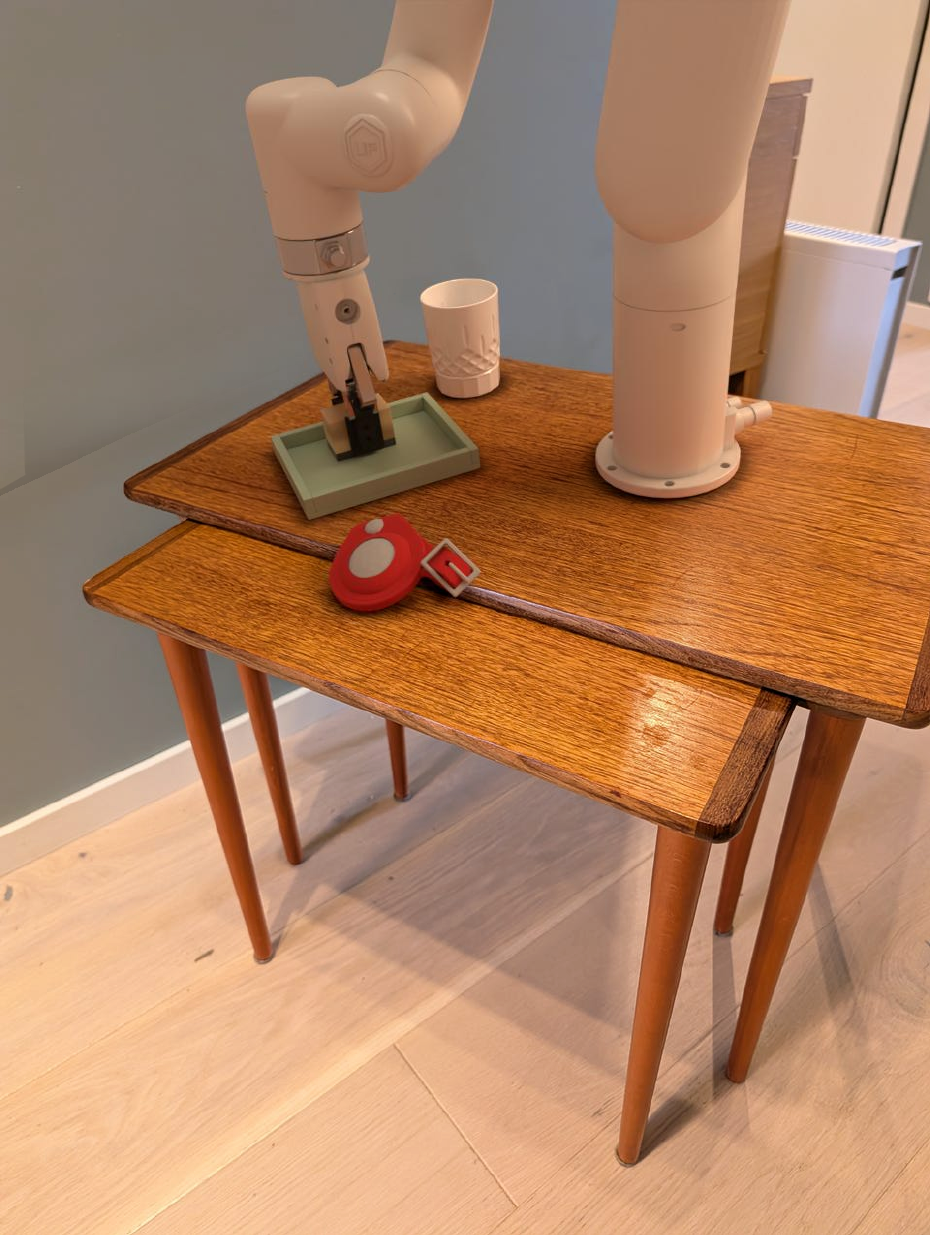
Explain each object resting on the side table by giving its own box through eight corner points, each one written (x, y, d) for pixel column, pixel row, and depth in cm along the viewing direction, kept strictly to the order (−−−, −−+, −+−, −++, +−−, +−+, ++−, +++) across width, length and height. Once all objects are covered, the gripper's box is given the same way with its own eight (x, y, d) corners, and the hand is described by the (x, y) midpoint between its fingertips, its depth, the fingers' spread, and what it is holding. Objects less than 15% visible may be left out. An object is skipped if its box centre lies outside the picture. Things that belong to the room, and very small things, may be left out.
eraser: (385, 429, 90) (378, 392, 87) (396, 444, 87) (390, 407, 84) (327, 446, 88) (319, 409, 86) (337, 462, 86) (329, 424, 83)
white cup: (480, 406, 92) (470, 311, 86) (418, 394, 96) (404, 302, 90) (518, 374, 97) (512, 282, 91) (458, 364, 101) (447, 275, 95)
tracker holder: (320, 613, 67) (323, 515, 73) (345, 644, 70) (346, 548, 76) (473, 571, 64) (463, 473, 70) (492, 605, 68) (481, 509, 74)
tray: (430, 410, 93) (427, 391, 92) (480, 468, 83) (478, 448, 82) (275, 454, 89) (270, 435, 88) (308, 520, 79) (303, 500, 78)
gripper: (396, 265, 70) (427, 468, 82) (338, 216, 83) (372, 399, 94) (304, 288, 69) (349, 492, 80) (259, 234, 81) (303, 418, 93)
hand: (361, 440), depth 87 cm, fingers closed on eraser, 3 cm apart
